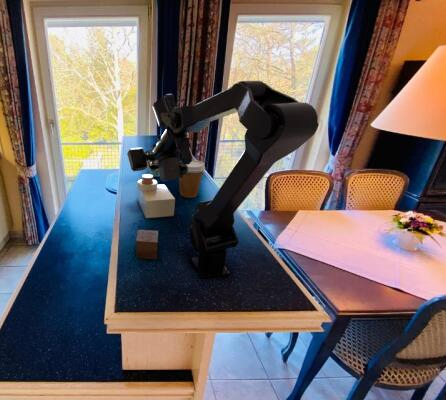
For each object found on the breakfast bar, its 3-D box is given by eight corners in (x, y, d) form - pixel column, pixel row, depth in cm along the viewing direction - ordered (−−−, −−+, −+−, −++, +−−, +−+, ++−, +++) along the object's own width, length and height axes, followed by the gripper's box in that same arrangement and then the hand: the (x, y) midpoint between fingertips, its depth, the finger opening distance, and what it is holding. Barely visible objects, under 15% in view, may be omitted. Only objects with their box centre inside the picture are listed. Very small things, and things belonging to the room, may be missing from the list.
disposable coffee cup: (202, 200, 93) (206, 168, 88) (174, 198, 95) (177, 166, 90) (201, 190, 101) (204, 160, 96) (175, 188, 103) (178, 158, 98)
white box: (173, 215, 83) (175, 192, 80) (143, 218, 82) (144, 195, 78) (162, 198, 95) (163, 177, 92) (135, 200, 94) (135, 179, 90)
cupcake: (142, 173, 119) (142, 147, 113) (158, 170, 122) (159, 145, 117) (151, 179, 112) (152, 152, 106) (168, 176, 115) (170, 149, 110)
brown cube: (156, 259, 64) (157, 242, 62) (136, 257, 64) (136, 240, 62) (157, 247, 68) (158, 230, 66) (137, 245, 69) (138, 229, 67)
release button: (153, 184, 87) (154, 177, 86) (143, 185, 86) (143, 178, 85) (151, 180, 90) (151, 173, 89) (140, 181, 89) (141, 174, 88)
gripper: (145, 174, 64) (129, 197, 78) (210, 166, 70) (185, 188, 84) (134, 135, 67) (121, 164, 81) (197, 130, 73) (174, 157, 87)
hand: (151, 169), depth 83 cm, fingers closed
